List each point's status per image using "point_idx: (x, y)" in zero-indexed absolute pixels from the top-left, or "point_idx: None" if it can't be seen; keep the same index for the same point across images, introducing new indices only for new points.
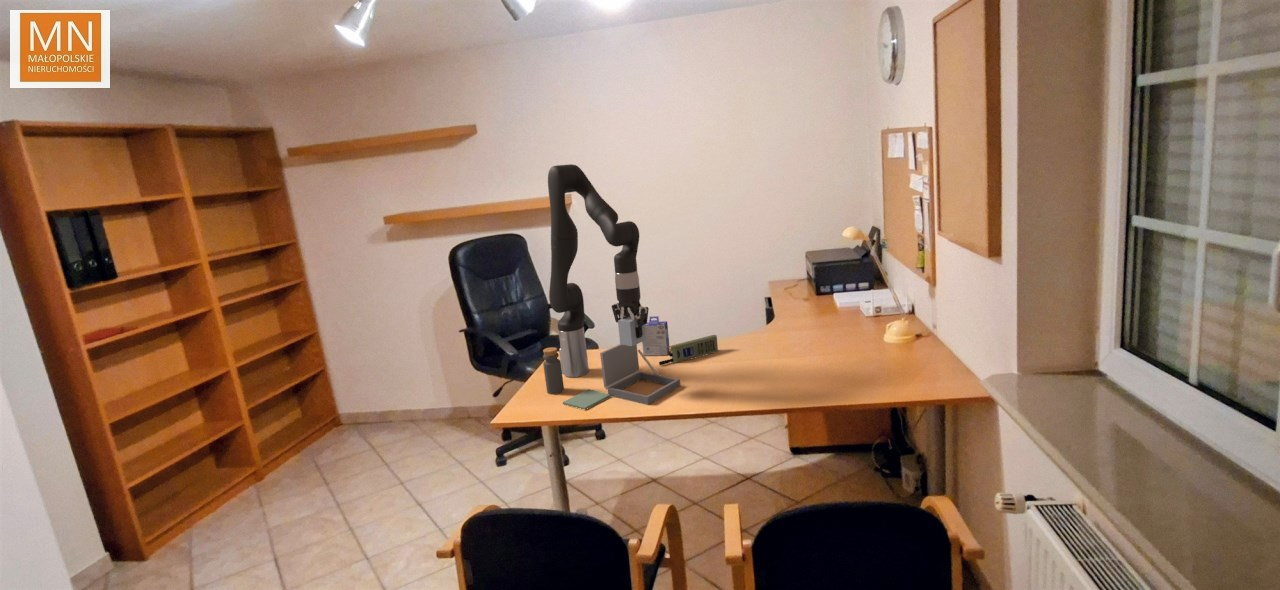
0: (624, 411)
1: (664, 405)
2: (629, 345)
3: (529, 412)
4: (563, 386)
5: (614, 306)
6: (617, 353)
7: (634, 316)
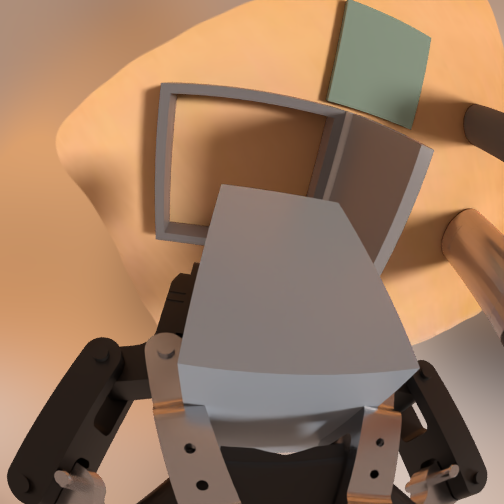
0: (215, 18)
1: (124, 101)
2: (247, 188)
3: (464, 2)
4: (470, 132)
5: (464, 489)
6: (368, 230)
7: (163, 453)
